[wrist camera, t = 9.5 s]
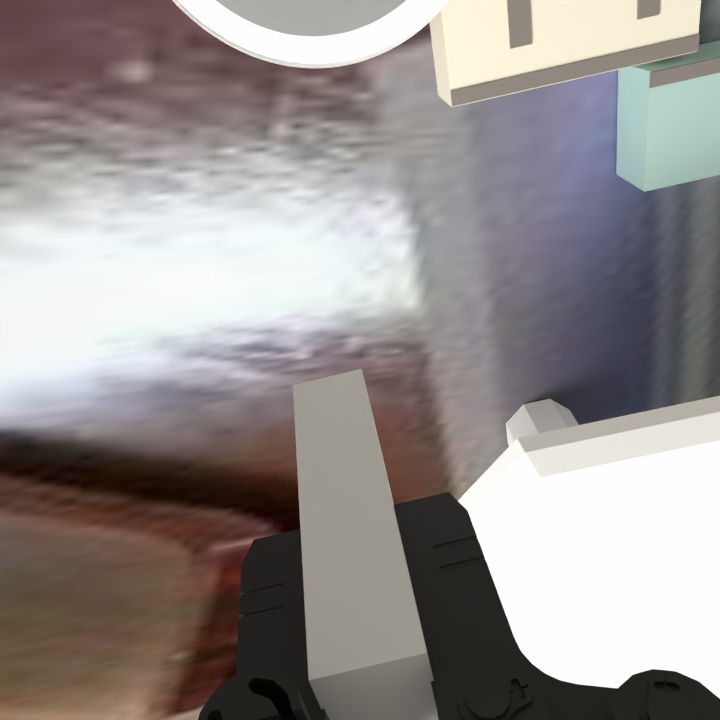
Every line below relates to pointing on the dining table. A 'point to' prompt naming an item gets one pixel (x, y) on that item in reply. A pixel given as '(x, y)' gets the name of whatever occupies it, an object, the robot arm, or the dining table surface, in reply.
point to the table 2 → (607, 541)
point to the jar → (312, 27)
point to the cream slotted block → (551, 41)
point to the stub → (670, 119)
